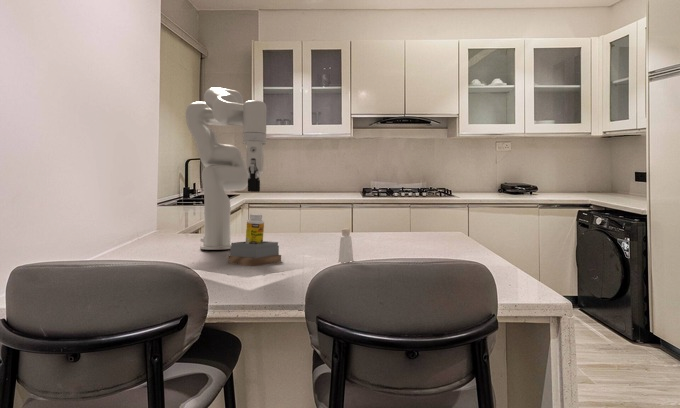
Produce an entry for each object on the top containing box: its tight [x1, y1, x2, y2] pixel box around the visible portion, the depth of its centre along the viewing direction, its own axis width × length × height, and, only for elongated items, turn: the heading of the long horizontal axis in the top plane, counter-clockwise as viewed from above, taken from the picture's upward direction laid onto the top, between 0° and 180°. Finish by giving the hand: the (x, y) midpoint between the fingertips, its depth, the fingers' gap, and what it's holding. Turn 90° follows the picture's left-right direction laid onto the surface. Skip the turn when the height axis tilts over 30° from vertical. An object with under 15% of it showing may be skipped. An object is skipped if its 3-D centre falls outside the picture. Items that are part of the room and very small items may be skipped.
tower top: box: [229, 240, 280, 258], centre depth 151 cm, size 11×11×4 cm
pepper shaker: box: [337, 228, 354, 264], centre depth 151 cm, size 5×5×11 cm
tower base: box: [228, 254, 282, 267], centre depth 151 cm, size 12×12×3 cm
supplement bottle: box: [245, 212, 265, 244], centre depth 150 cm, size 6×6×10 cm
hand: (253, 191), depth 151 cm, fingers open, 9 cm apart
